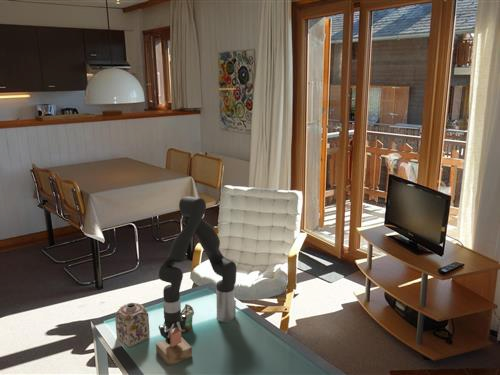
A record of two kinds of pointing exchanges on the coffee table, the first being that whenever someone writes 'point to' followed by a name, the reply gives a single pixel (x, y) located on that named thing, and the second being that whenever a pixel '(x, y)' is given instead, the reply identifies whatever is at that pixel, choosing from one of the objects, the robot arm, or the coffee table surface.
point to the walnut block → (173, 351)
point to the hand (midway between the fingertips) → (173, 340)
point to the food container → (187, 318)
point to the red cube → (175, 337)
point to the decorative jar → (132, 324)
